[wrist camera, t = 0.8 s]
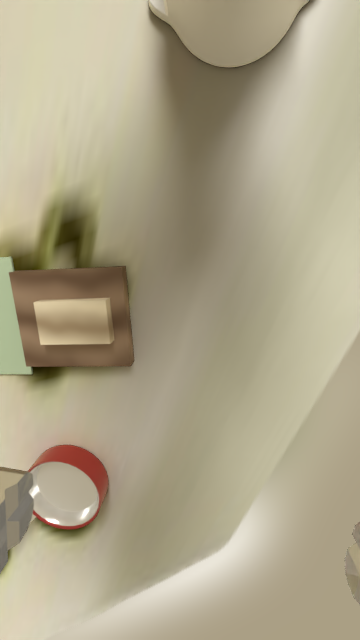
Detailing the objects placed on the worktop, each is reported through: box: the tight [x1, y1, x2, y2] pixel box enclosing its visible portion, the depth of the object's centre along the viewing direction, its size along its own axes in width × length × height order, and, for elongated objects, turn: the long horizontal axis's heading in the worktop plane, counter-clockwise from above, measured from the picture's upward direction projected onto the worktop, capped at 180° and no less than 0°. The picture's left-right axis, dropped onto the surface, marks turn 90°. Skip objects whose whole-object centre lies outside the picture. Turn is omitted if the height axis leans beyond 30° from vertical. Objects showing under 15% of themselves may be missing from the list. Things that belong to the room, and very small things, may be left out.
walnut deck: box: [9, 266, 134, 367], centre depth 44 cm, size 14×16×2 cm
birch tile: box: [33, 298, 114, 345], centre depth 42 cm, size 6×10×2 cm, turn 93°
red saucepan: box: [27, 445, 108, 529], centre depth 52 cm, size 32×13×6 cm, turn 141°
